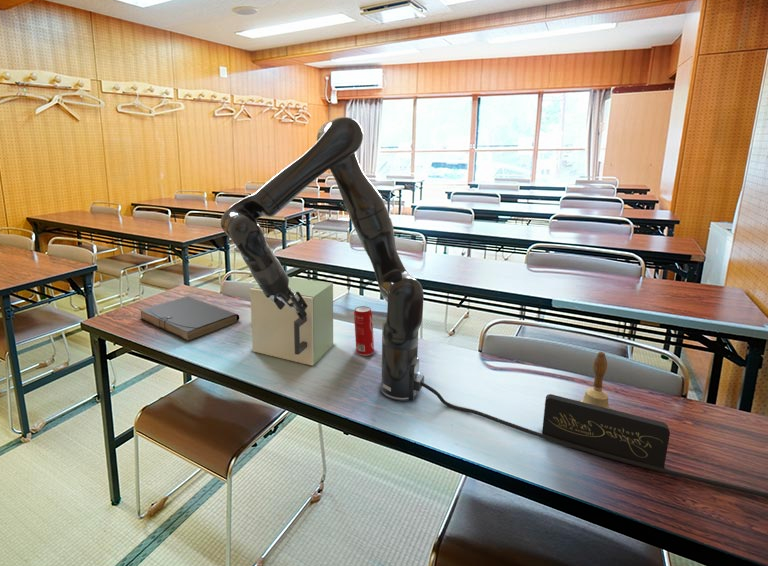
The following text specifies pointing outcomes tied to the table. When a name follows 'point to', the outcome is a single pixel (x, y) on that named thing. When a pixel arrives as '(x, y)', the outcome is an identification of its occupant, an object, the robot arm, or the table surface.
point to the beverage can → (364, 330)
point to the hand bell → (597, 384)
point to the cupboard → (317, 311)
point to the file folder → (188, 317)
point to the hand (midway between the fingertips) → (292, 311)
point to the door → (281, 329)
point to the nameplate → (606, 430)
